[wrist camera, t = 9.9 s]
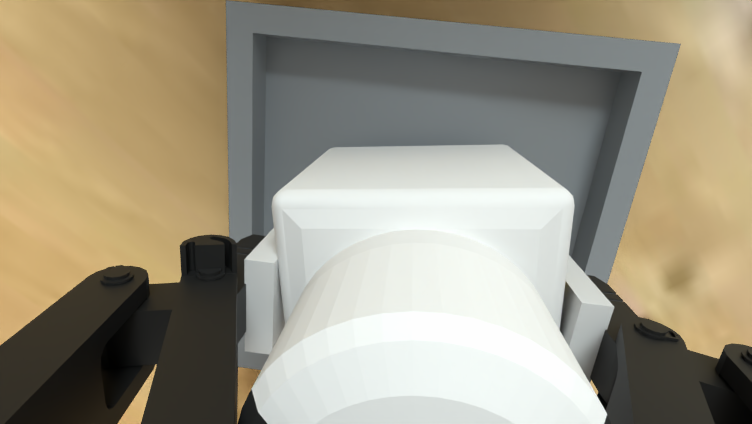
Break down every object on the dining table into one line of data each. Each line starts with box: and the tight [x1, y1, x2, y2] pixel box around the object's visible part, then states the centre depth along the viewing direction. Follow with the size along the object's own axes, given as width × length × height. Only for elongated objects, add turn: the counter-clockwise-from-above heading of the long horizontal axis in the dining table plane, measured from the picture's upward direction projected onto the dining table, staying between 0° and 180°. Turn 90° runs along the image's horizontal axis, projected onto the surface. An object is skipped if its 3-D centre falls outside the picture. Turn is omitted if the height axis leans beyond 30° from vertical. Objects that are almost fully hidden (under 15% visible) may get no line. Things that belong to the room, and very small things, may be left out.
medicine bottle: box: [238, 144, 611, 424], centre depth 12 cm, size 7×7×12 cm
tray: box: [226, 0, 681, 370], centre depth 18 cm, size 16×16×2 cm
